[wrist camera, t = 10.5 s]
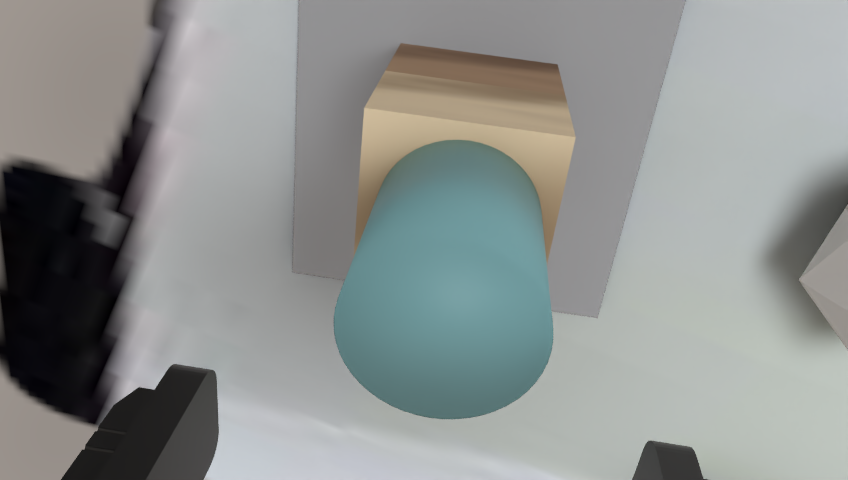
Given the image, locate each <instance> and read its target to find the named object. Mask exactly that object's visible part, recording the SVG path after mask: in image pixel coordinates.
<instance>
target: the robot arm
mask: <svg viewBox="0 0 848 480" xmlns="http://www.w3.org/2000/svg"><path fill="white" fill-rule="evenodd" d="M218 433H219V426H218V402H217V379H216V373H215V371H214V370H209V369H203V368H196V367H190V366H184V365H177V364H174V365H172V366H171V367H170V368H169V369H168V370H167V372H166V373H165V375H164V376H163V378H162V379H161V381H160V382H159V384H158V386H157V387H156V389H155V390H152V389H146V388H140V387H139V388H137V389H136V390H134V391H133V392H132V393H130V394H129V395H127V396H126V397H125V398H123V399H122V400H120V401H119V402H118V403H116V404H115V405H114V406H113V407H112V409H111V410H110V411H109V413H108V414H107V416H106V417H105V418H104V420H103V421H102V423H101V424H100V425H99V427H98V431H97V432H96V431H95V432H94V434H93V435H92V437H91V438H90V439H89V441H88V442H87V444H86V446H85V450H82V451H81V452H80V454H79V455H78V456H77V458H76V459H75V461H74V462H73V463H72V465H71V466H70V468H69V469H68V470H67V472H66V473H65V475H64V476H63V477H62V479H61V480H203V479H204V477H205V475H206V473H207V471H208V469H209V467H210V465H211V463H212V460H213V457H214V454H215V451H216V447H217V441H218ZM632 480H707V479H703V476H702V473H701V470H700V466H699V463H698V460H697V457H696V454H695V452H694V450H693V449H692V448H691V447H688V446H681V445H675V444H669V443H662V442H656V441H648V442H647V443H646V445H645V447H644V449H643V452H642V455H641V457H640V460H639V463H638V466H637V468H636V471H635V474H634V477H633V479H632Z"/></svg>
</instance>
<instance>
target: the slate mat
mask: <svg viewBox="0 0 848 480" xmlns="http://www.w3.org/2000/svg"><path fill="white" fill-rule="evenodd" d="M685 1H686V0H299V18H298V58H297V99H296V140H295V180H294V221H293V262H292V272H293V273H300V274H306V275H313V276H320V277H326V278H333V279H340V280H345V279H346V276H347V273H348V271H349V268H350V266H351V263H352V260H353V257H354V243H355V229H356V215H357V201H358V187H359V173H360V159H361V145H362V131H363V117H364V107H365V105H366V104H367V102H368V100H369V98H370V97H371V95H372V93H373V91H374V90H375V88H376V86H377V84H378V83H379V81H380V79H381V77H382V76H383V74H384V72H385V70H386V68H387V67H388V65H389V63H390V61H391V60H392V58H393V56H394V54H395V53H396V51H397V49H398V47H399V46H400V44H401V43H404V44H412V45H419V46H426V47H434V48H441V49H448V50H456V51H463V52H470V53H478V54H485V55H492V56H500V57H507V58H514V59H522V60H529V61H537V62H544V63H551V64H558V68H559V72H560V76H561V80H562V84H563V88H564V92H565V96H566V100H567V104H568V108H569V112H570V116H571V120H572V124H573V128H574V132H575V136H576V139H575V143H574V147H573V152H572V156H571V161H570V165H569V170H568V174H567V179H566V183H565V187H564V192H563V196H562V201H561V205H560V210H559V214H558V219H557V223H556V227H555V232H554V236H553V241H552V245H551V250H550V254H549V258H548V263H547V272H548V282H549V292H550V302H551V311H554V312H560V313H567V314H574V315H580V316H587V317H594V318H598V314H599V310H600V307H601V303H602V300H603V296H604V293H605V289H606V285H607V282H608V278H609V275H610V271H611V267H612V264H613V260H614V257H615V253H616V249H617V246H618V242H619V239H620V235H621V231H622V228H623V224H624V221H625V217H626V213H627V210H628V206H629V203H630V199H631V195H632V192H633V188H634V185H635V181H636V177H637V174H638V170H639V167H640V163H641V160H642V156H643V152H644V149H645V145H646V142H647V138H648V134H649V131H650V127H651V124H652V120H653V116H654V113H655V109H656V106H657V102H658V98H659V95H660V91H661V88H662V84H663V80H664V77H665V73H666V70H667V66H668V62H669V59H670V55H671V52H672V48H673V44H674V41H675V37H676V34H677V30H678V26H679V23H680V19H681V16H682V12H683V9H684V5H685Z"/></svg>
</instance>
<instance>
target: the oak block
mask: <svg viewBox="0 0 848 480" xmlns="http://www.w3.org/2000/svg"><path fill="white" fill-rule="evenodd" d="M575 139H576V136H575V132H574V128H573V124H572V120H571V116H570V112H569V108H568V104H567V100H566V96H565V95H559V94H552V93H544V92H537V91H530V90H523V89H515V88H508V87H501V86H493V85H486V84H479V83H472V82H464V81H457V80H450V79H442V78H435V77H428V76H421V75H413V74H406V73H399V72H391V71H385V72H384V74H383V76H382V77H381V79H380V81H379V83H378V84H377V86H376V88H375V90H374V91H373V93H372V95H371V97H370V98H369V100H368V102H367V104H366V105H365V107H364V117H363V131H362V145H361V159H360V173H359V187H358V201H357V215H356V229H355V243H354V255H355V252H356V250H357V247H358V245H359V242H360V239H361V237H362V234H363V232H364V229H365V226H366V224H367V221H368V219H369V216H370V213H371V211H372V208H373V205H374V203H375V200H376V198H377V195H378V192H379V190H380V187H381V185H382V183H383V181H384V179H385V177H386V176H387V174H388V173H389V171H390V170H391V169H392V168H393V167H394V166H395V164H396V163H397V162H398V161H400V160H401V159H402V158H403V157H404V156H406V155H407V154H409V153H410V152H412V151H414V150H415V149H418V148H420V147H422V146H424V145H427V144H431V143H434V142H439V141H444V140H469V141H474V142H479V143H483V144H486V145H488V146H491V147H494V148H496V149H498V150H500V151H502V152H503V153H505V154H506V155H508V156H509V157H511V158H512V159H513V160H514V161H516V162H517V163H518V164H519V165H520V166H521V167H522V168H523V170H524V171H525V172H526V173H527V174H528V176H529V177H530V179H531V180H532V182H533V184H534V186H535V188H536V190H537V193H538V196H539V200H540V205H541V211H542V221H543V231H544V241H545V252H546V262H547V263H548V258H549V254H550V250H551V245H552V241H553V236H554V232H555V227H556V223H557V219H558V214H559V210H560V205H561V201H562V196H563V192H564V187H565V183H566V179H567V174H568V170H569V165H570V161H571V156H572V152H573V147H574V143H575ZM353 258H354V257H353Z"/></svg>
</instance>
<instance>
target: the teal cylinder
mask: <svg viewBox="0 0 848 480" xmlns="http://www.w3.org/2000/svg"><path fill="white" fill-rule="evenodd" d="M334 334H335V339H336V344H337V347H338V350H339V353H340V355H341V357H342V359H343V361H344V363H345V365H346V366H347V368H348V369H349V371H350V372H351V373H352V375H353V376H354V377H355V378H356V379H357V380H358V382H359V383H360V384H361V385H362V386H364V387H365V388H366V389H367V390H368V391H369V392H370V393H372V394H373V395H375V396H376V397H377V398H379V399H380V400H382V401H384V402H386V403H387V404H389V405H391V406H393V407H396V408H398V409H400V410H403V411H405V412H409V413H412V414H415V415H419V416H424V417H429V418H438V419H462V418H471V417H476V416H481V415H484V414H488V413H491V412H494V411H496V410H498V409H501V408H503V407H505V406H507V405H509V404H510V403H512V402H514V401H515V400H517V399H518V398H520V397H521V396H522V395H523V394H525V393H526V392H527V391H528V390H529V389H530V388H531V387H532V386H533V385H534V384H535V383H536V381H537V380H538V378H539V377H540V376H541V374H542V373H543V371H544V369H545V367H546V365H547V363H548V360H549V357H550V354H551V350H552V344H553V322H552V312H551V302H550V292H549V282H548V272H547V262H546V252H545V241H544V231H543V221H542V211H541V205H540V200H539V196H538V193H537V190H536V188H535V186H534V184H533V182H532V180H531V179H530V177H529V176H528V174H527V173H526V172H525V171H524V170H523V168H522V167H521V166H520V165H519V164H518V163H517V162H516V161H514V160H513V159H512V158H511V157H509V156H508V155H506V154H505V153H503V152H502V151H500V150H498V149H496V148H494V147H491V146H488V145H486V144H483V143H479V142H474V141H469V140H444V141H439V142H434V143H431V144H427V145H424V146H422V147H420V148H418V149H415V150H414V151H412V152H410V153H409V154H407V155H406V156H404V157H403V158H402V159H401V160H400V161H398V162H397V163H396V164H395V166H394V167H393V168H392V169H391V170H390V171H389V173H388V174H387V176H386V177H385V179H384V181H383V183H382V185H381V187H380V190H379V192H378V195H377V198H376V200H375V203H374V205H373V208H372V211H371V213H370V216H369V219H368V221H367V224H366V226H365V229H364V232H363V234H362V237H361V239H360V242H359V245H358V247H357V250H356V252H355V255H354V258H353V260H352V263H351V266H350V268H349V271H348V273H347V276H346V279H345V281H344V284H343V286H342V289H341V292H340V294H339V297H338V300H337V304H336V307H335V314H334Z"/></svg>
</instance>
